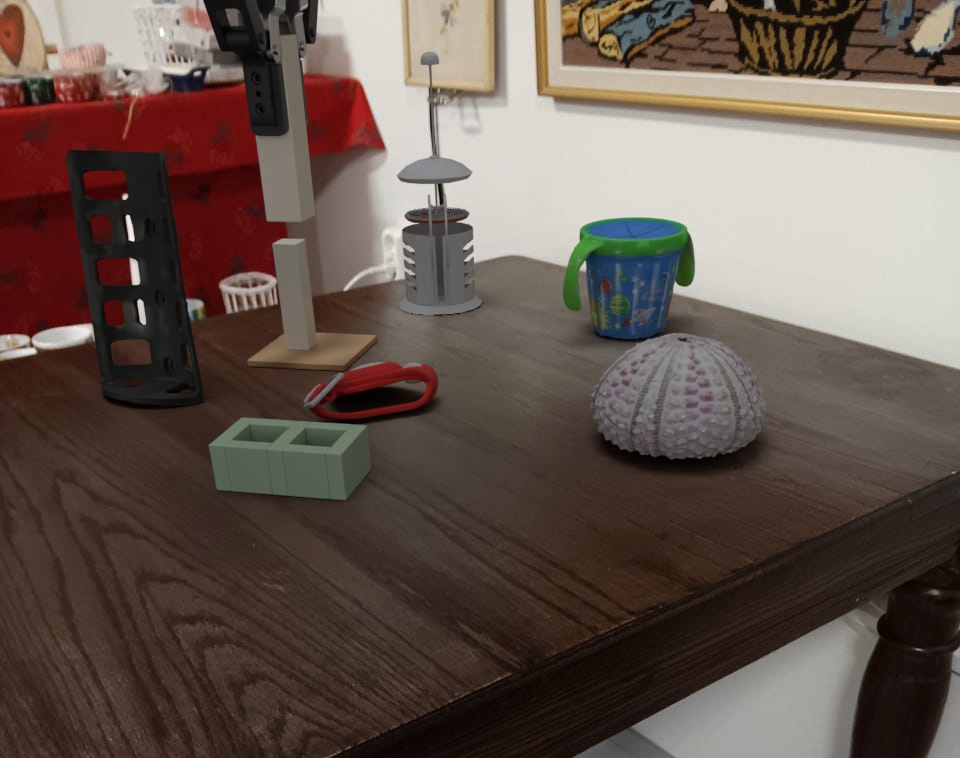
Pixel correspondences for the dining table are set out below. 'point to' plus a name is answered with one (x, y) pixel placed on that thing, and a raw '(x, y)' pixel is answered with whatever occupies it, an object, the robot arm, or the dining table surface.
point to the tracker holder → (370, 379)
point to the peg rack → (291, 458)
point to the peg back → (295, 293)
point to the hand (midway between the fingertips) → (280, 130)
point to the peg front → (288, 150)
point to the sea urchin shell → (679, 399)
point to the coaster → (315, 353)
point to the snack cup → (630, 273)
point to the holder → (156, 272)
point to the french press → (437, 237)
